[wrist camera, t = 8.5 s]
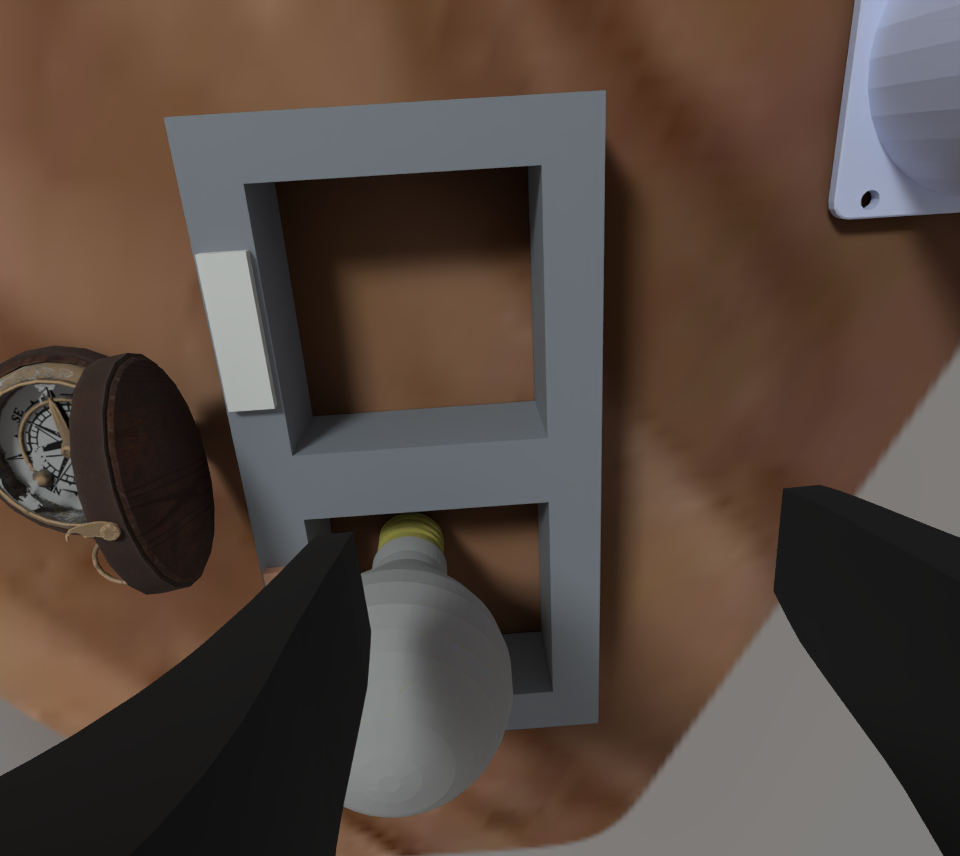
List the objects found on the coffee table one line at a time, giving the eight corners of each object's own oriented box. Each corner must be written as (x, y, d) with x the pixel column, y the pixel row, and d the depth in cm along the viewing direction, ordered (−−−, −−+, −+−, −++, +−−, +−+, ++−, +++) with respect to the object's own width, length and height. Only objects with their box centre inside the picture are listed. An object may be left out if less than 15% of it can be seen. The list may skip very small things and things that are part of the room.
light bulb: (502, 585, 24) (536, 858, 15) (350, 605, 24) (288, 890, 15) (482, 445, 22) (507, 659, 13) (316, 468, 22) (219, 698, 13)
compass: (-57, 365, 20) (-312, 470, 13) (199, 316, 20) (71, 397, 13) (54, 584, 23) (-109, 760, 16) (278, 544, 23) (206, 705, 16)
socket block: (581, 100, 18) (608, 89, 15) (581, 660, 25) (600, 730, 22) (207, 122, 18) (158, 116, 15) (315, 681, 25) (296, 754, 22)
